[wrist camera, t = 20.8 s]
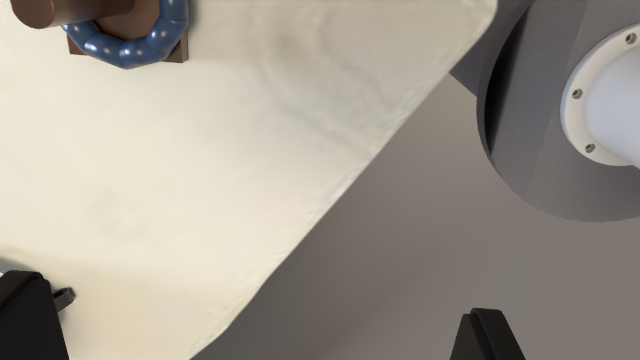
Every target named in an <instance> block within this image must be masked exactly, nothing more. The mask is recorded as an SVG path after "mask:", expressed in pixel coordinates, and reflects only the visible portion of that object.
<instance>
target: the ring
mask: <svg viewBox="0 0 640 360" xmlns="http://www.w3.org/2000/svg"><path fill="white" fill-rule="evenodd" d="M159 11H160V15H159V17H158V18H157V20H156V22H155V23H154V25H153V26H152V28H151V30H150V31H149V33H148V34H147V36H143V37H140V38H136V39H132V40H129V41H122V40H120V39H117V38H115V37H112V36H110V35H107V34H105V33H102V32H100V31H99V29H98V28H97V27H96V26H95V24H94V23H93V22H92V21H91V20H89V21H83V22H78V23H72V24H67V25H61V27H62V28H63V30H64V31H65V32H66V33H67V34H68V36H69V37H70V38H71V39H72V40H73V42H74V43H75V44H76V45H77V46H78V48H79V49H80V50H81V51H82V52H83V53H85V54H86V55H88V56H91V57H94V58H96V59H99V60H101V61H104V62H106V63H109V64H112V65H114V66H117V67H119V68H122V69H133V68H137V67H140V66H144V65H148V64H152V63H155V62H159V61H163V60H165V59H166V58H167V57H168V56H169V55H170V53H171V52H172V50H173V49H174V47H175V46H176V44H177V43H178V41H179V39H180V38H181V36H182V35H183V33H184V32H185V30H186V29H187V27H188V24H189V15H188V0H159Z"/></svg>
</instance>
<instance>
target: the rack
mask: <svg viewBox="0 0 640 360" xmlns="http://www.w3.org/2000/svg"><path fill="white" fill-rule="evenodd" d="M10 5H11V8H12V10H13V12H14V14H15V15H16V17H17V18H18V19H19V20H20V21H21V22H22V23H24V24H25V25H27V26H29V27H31V28H34V29H44V28H50V27H55V26H61V25H67V24H72V23H78V22H83V21H89V20H91V21H92V22H93V23H94V24H95V26H96V27H97V28H98V29H99V31H100V32H102V33H105V34H107V35H110V36H112V37H115V38H117V39H120V40H122V41H129V40H132V39H136V38H140V37H143V36H147V34H148V33H149V31H150V30H151V28H152V26H153V25H154V23H155V22H156V20H157V18H158V17H159V15H160V11H159V0H10ZM66 35H67V40H68V46H69V51H70V54H75V55H86V54H85V53H83V52H82V51H81V50H80V49H79V48H78V46H77V45H76V44H75V43H74V42H73V40H72V39H71V38H70V37H69V36H68V34H67V33H66ZM187 60H188V49H187V32H186V30H185V32H184V33H183V35H182V36H181V38H180V39H179V41H178V43H177V44H176V46H175V47H174V49H173V50H172V52H171V53H170V55H169V56H168V57H167V58H166V59H165V60H163V61H162V62H175V63H183V62H185V61H187Z"/></svg>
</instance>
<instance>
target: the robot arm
mask: <svg viewBox="0 0 640 360" xmlns="http://www.w3.org/2000/svg"><path fill="white" fill-rule="evenodd" d="M626 37H627V38H626ZM574 91H575V92H574ZM573 92H574V93H573ZM560 121H561V124H562V128H563V132H564V134H565V135H566V137H567V139H568V141H569V142H570V143H571V145H572V146H573V147H574V148H575V149H576V150H577V151H579V152H580V153H581V154H583V155H584V156H585V157H587V158H589V159H591V160H593V161H595V162H598V163H602V164H605V165H612V166H628V165H633V166H635V167H637V168H638V169H640V23H637V24H633V25H630V26H627V27H625V28H623V29H620V30H618V31H616V32H614V33H612V34H611V35H609V36H608V37H606V38H605V39H603V40H602V41H600V42H599V43H597V44H596V45H595V46H594V47H593V48H592V49H591V50H590V51H589V52H588V53H587V54H585V56H584V57H583V58H582V59H581V61H580V62H579V63H578V64H577V66H576V67H575V68H574V70H573V72H572V73H571V75H570V77H569V79H568V80H567V83H566V86H565V88H564V91H563V94H562V99H561V105H560ZM0 360H69V356H68V353H67V349H66V345H65V341H64V337H63V333H62V329H61V325H60V321H59V317H58V314H57V310H56V306H55V302H54V298H53V294H52V290H51V286H50V283H49V281H48V280H46V279H44V278H43V275H42V274H41V273H39V272H32V271H19V270H10V271H8V272H6V273H5V274H3V275H2V276H1V277H0ZM450 360H526V359H525V357H524V355H523V353H522V351H521V349H520V347H519V345H518V343H517V341H516V339H515V337H514V335H513V333H512V331H511V329H510V327H509V325H508V323H507V320H506V318H505V316H504V315H503V313H502V311H500V310H496V309H484V308H473V309H472V310H471V312H470V314H464V315H463V316H462V319H461V322H460V326H459V329H458V333H457V336H456V340H455V343H454V347H453V351H452V354H451V357H450Z"/></svg>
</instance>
